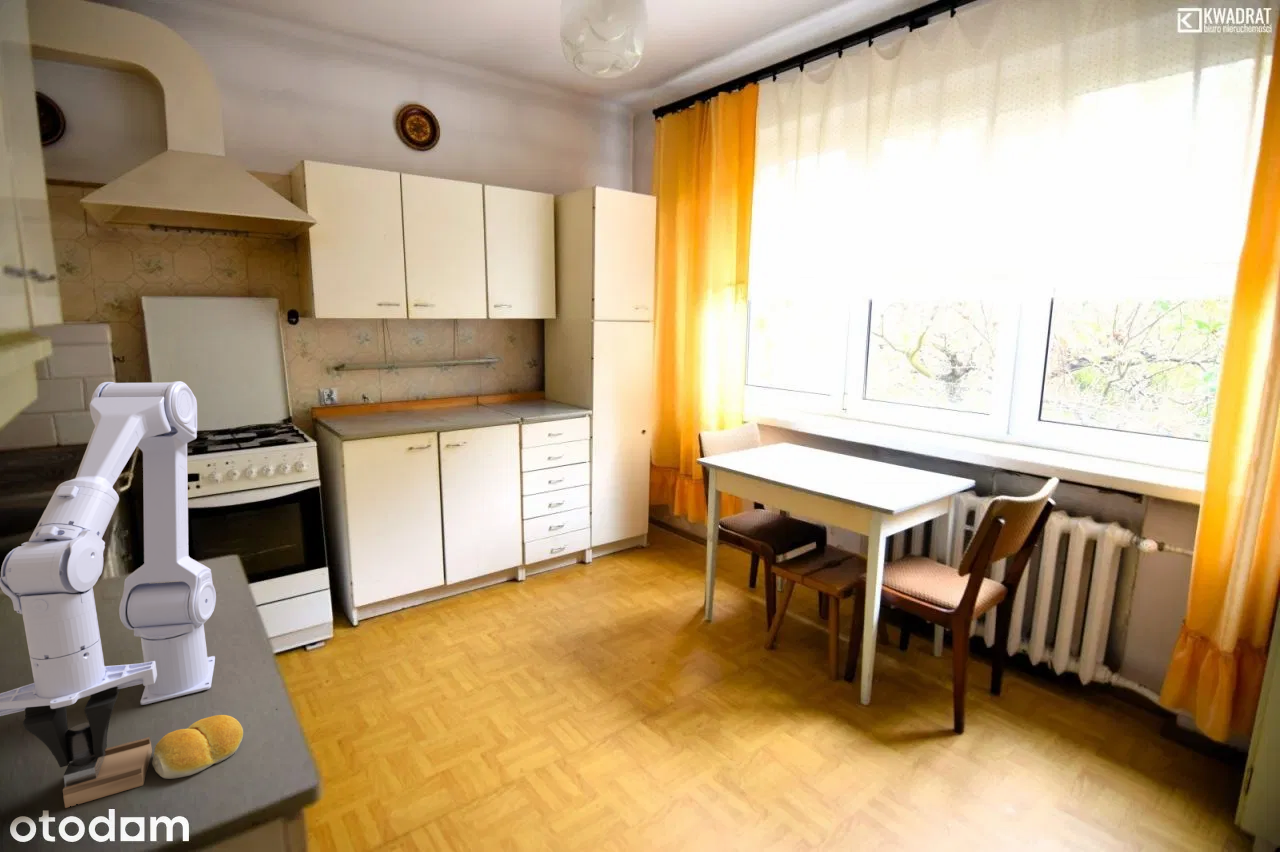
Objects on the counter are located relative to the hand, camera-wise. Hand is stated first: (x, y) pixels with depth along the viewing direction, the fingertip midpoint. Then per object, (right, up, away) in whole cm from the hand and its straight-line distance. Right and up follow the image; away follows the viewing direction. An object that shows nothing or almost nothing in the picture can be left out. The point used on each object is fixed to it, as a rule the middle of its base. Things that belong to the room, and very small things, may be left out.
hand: (83, 756), depth 70 cm
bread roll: (+9, -3, +6) cm, 11 cm away
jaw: (0, -2, 0) cm, 2 cm away
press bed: (+2, -3, +2) cm, 4 cm away
